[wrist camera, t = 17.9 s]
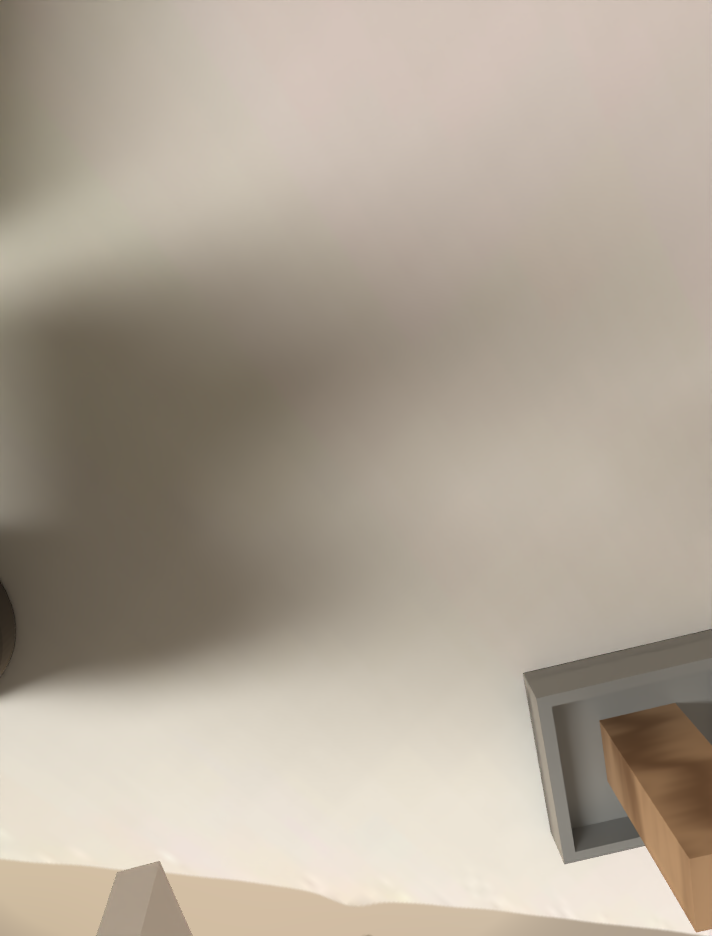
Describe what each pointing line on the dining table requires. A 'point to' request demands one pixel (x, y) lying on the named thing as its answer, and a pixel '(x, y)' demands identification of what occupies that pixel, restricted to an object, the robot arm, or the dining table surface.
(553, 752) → the tray
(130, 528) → the dining table surface
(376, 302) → the dining table surface
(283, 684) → the dining table surface
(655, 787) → the block
